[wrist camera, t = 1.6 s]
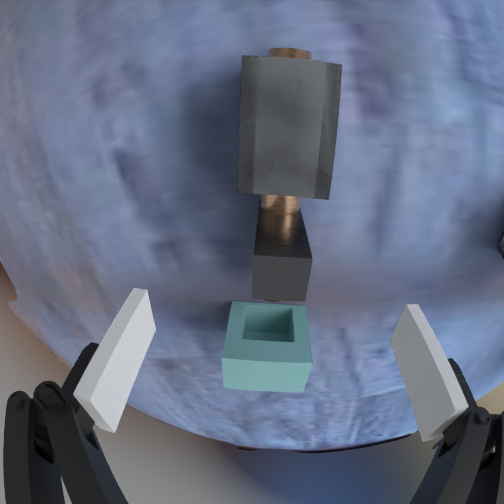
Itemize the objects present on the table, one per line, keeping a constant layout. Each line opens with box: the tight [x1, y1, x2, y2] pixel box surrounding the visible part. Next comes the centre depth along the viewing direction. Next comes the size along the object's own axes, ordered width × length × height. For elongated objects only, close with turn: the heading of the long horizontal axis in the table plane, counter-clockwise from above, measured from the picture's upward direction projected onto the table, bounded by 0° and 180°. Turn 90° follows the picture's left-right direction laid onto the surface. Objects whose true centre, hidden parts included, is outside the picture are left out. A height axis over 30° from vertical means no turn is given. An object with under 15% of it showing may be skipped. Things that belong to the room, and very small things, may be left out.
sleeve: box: [237, 56, 342, 200], centre depth 18 cm, size 9×6×6 cm, turn 178°
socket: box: [222, 301, 313, 392], centre depth 28 cm, size 5×8×8 cm, turn 88°
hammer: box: [252, 48, 312, 302], centre depth 18 cm, size 20×3×9 cm, turn 178°
